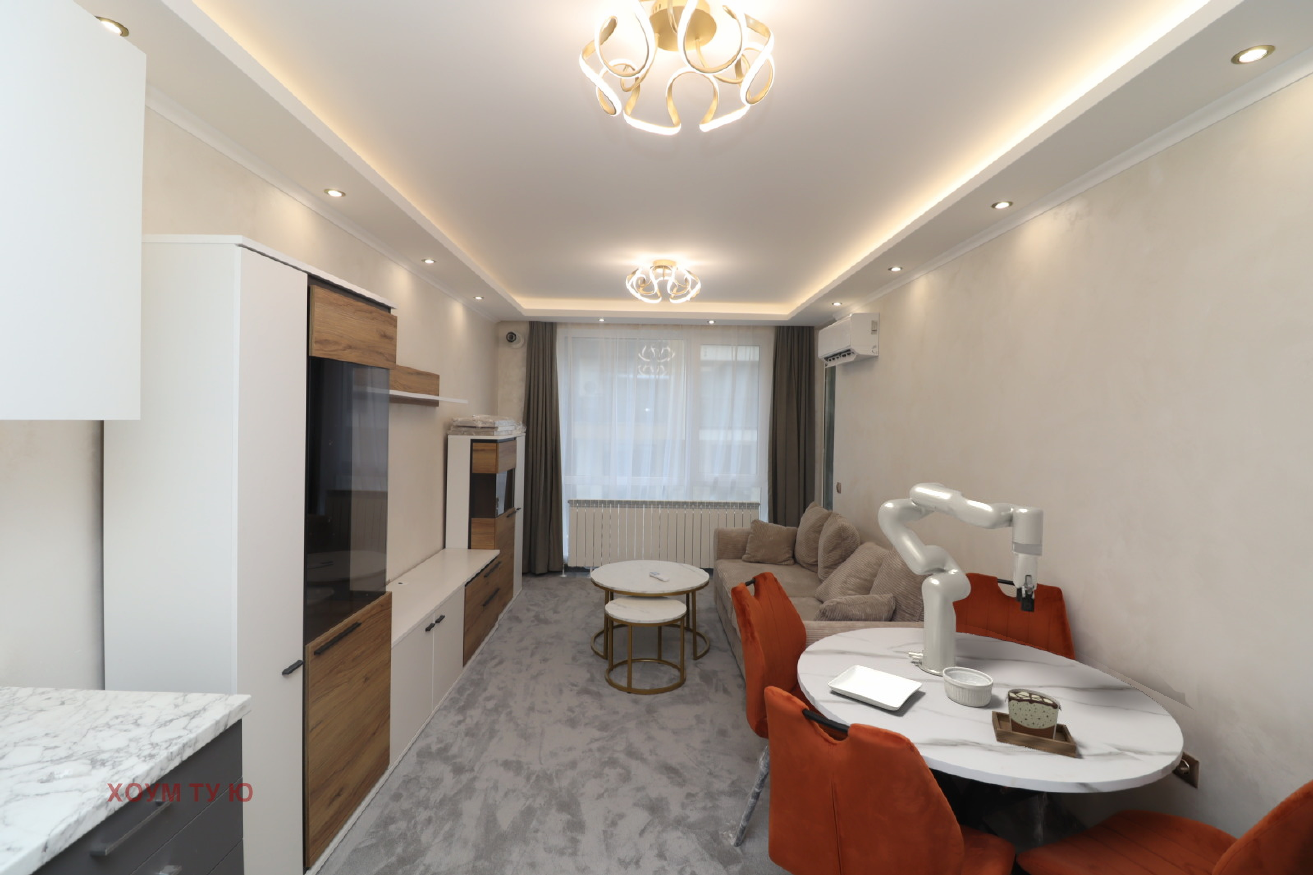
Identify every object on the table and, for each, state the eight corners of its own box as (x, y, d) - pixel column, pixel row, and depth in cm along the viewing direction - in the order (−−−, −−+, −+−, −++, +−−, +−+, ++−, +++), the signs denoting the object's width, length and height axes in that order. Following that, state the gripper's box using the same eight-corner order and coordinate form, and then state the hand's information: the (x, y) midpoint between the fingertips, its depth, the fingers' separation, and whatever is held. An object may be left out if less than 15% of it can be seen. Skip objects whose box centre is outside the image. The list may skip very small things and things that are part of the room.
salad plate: (825, 694, 169) (825, 683, 169) (855, 673, 185) (855, 662, 185) (897, 719, 155) (898, 707, 155) (923, 694, 171) (923, 683, 171)
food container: (1053, 730, 148) (1054, 692, 148) (1061, 742, 142) (1061, 703, 142) (999, 721, 152) (1000, 684, 152) (1004, 732, 147) (1005, 693, 146)
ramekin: (932, 693, 171) (932, 670, 171) (962, 686, 176) (963, 663, 176) (971, 713, 159) (972, 688, 159) (1003, 705, 164) (1003, 681, 164)
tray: (996, 741, 144) (997, 729, 144) (991, 721, 154) (992, 710, 154) (1076, 758, 137) (1076, 745, 137) (1065, 736, 147) (1065, 724, 147)
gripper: (1008, 542, 175) (1006, 597, 176) (1015, 552, 160) (1013, 612, 160) (1037, 545, 172) (1035, 600, 172) (1047, 556, 156) (1045, 617, 157)
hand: (1024, 606), depth 166 cm, fingers open, 9 cm apart
